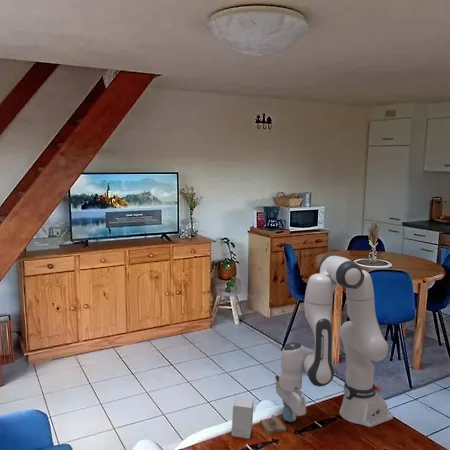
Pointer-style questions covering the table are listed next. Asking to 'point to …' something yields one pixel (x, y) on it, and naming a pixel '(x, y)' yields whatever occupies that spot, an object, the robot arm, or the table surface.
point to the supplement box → (242, 417)
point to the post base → (273, 425)
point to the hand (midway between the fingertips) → (289, 414)
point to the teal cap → (287, 413)
